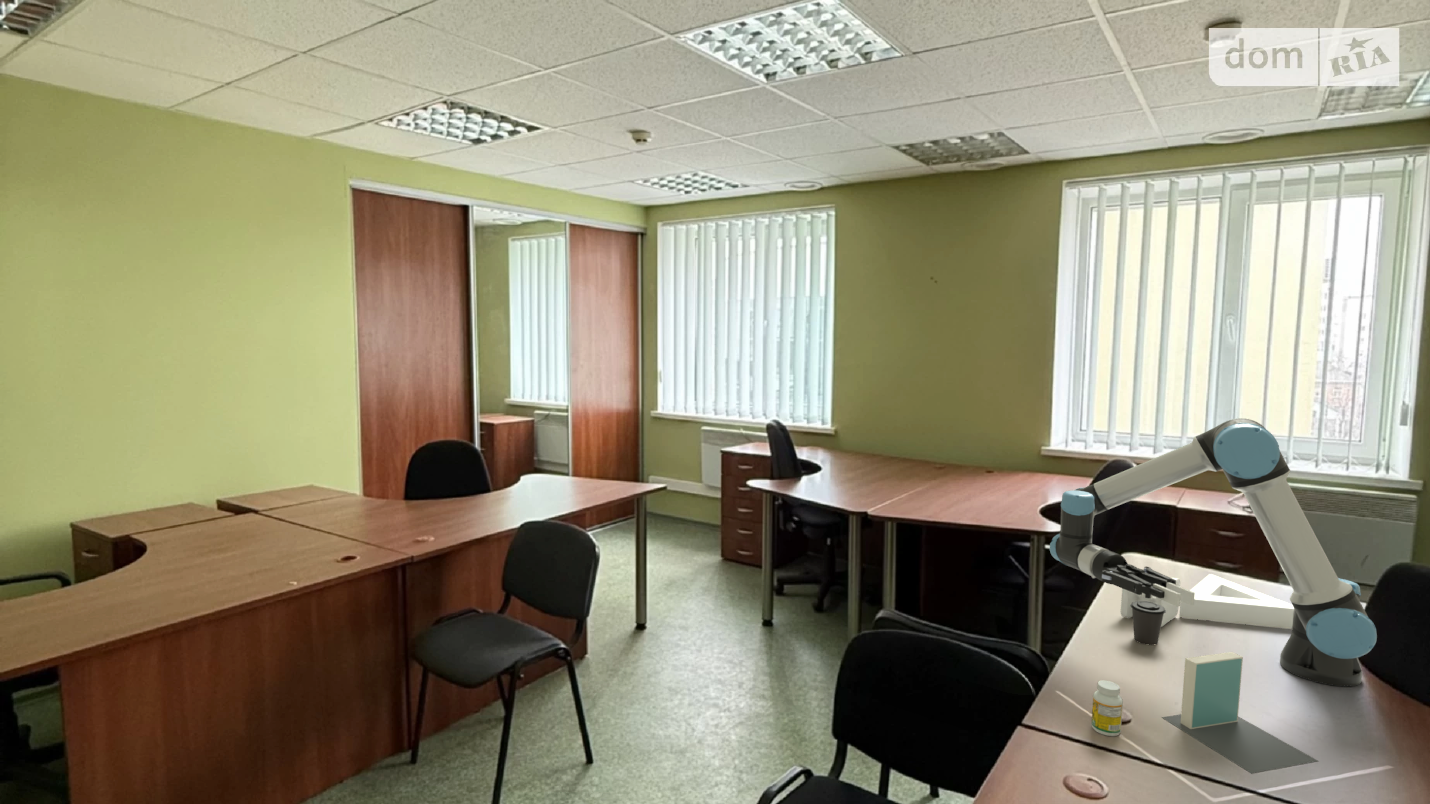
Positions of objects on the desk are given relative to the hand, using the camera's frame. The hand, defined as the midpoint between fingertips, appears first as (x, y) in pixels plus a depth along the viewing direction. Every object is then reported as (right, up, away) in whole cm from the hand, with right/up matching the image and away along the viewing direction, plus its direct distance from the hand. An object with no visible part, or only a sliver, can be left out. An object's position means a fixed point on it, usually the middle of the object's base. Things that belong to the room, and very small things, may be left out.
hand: (1185, 599), depth 158 cm
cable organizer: (+22, -19, +51) cm, 58 cm away
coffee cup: (+12, -21, +36) cm, 43 cm away
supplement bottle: (-21, -25, -7) cm, 33 cm away
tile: (+2, -24, -5) cm, 25 cm away
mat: (+3, -25, -11) cm, 28 cm away
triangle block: (+49, -19, +59) cm, 79 cm away
